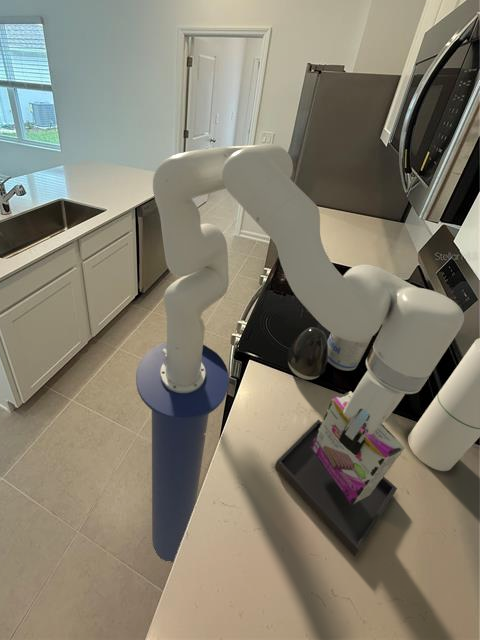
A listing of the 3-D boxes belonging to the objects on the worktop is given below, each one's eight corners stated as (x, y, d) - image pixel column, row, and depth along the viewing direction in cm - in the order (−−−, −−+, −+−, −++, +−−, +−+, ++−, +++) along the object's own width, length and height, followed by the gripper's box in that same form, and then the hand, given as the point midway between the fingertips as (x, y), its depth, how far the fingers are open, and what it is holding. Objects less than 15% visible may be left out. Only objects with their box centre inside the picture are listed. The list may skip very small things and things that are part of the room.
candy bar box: (308, 448, 64) (330, 397, 56) (326, 439, 66) (350, 389, 58) (351, 508, 55) (385, 458, 47) (370, 496, 57) (407, 446, 49)
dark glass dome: (277, 371, 85) (289, 330, 78) (293, 350, 92) (305, 311, 85) (313, 393, 80) (329, 351, 72) (327, 369, 87) (343, 329, 80)
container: (447, 441, 71) (524, 347, 56) (458, 478, 64) (549, 383, 49) (405, 425, 74) (468, 332, 59) (411, 459, 67) (484, 363, 52)
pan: (274, 467, 64) (276, 460, 62) (315, 425, 72) (318, 419, 71) (354, 556, 52) (359, 550, 51) (392, 494, 61) (397, 488, 59)
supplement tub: (316, 350, 93) (329, 312, 86) (340, 344, 96) (356, 307, 89) (339, 376, 85) (356, 337, 78) (365, 368, 88) (384, 330, 81)
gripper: (394, 328, 53) (359, 395, 62) (343, 376, 43) (310, 447, 52) (444, 356, 48) (399, 425, 57) (399, 417, 38) (353, 488, 47)
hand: (357, 435), depth 54 cm, fingers closed on candy bar box, 5 cm apart
